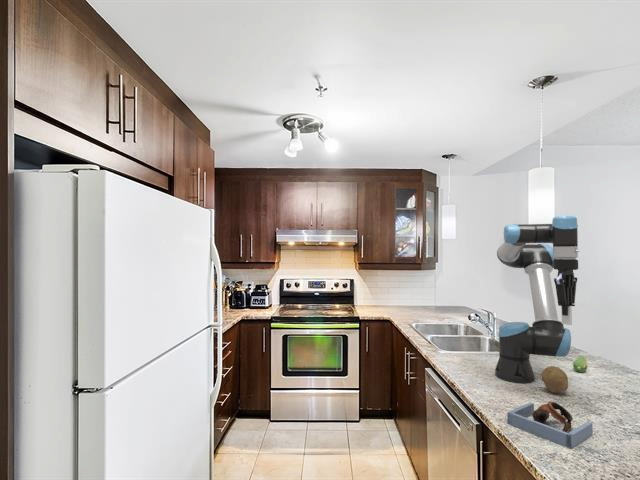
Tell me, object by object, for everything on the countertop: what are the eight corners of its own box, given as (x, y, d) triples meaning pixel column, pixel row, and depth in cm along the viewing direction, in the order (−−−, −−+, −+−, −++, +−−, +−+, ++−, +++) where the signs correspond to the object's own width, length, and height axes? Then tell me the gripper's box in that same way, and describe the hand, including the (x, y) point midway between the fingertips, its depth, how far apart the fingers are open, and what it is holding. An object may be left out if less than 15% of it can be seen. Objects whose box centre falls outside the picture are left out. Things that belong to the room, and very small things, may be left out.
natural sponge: (543, 386, 148) (543, 361, 149) (570, 391, 143) (569, 365, 143) (539, 393, 141) (539, 367, 142) (567, 399, 136) (567, 371, 136)
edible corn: (570, 362, 166) (582, 361, 164) (576, 354, 181) (587, 353, 178) (574, 374, 165) (586, 373, 162) (580, 365, 180) (591, 364, 177)
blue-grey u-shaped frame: (507, 423, 116) (507, 412, 116) (530, 412, 124) (530, 402, 124) (571, 448, 101) (570, 436, 101) (592, 434, 109) (592, 422, 109)
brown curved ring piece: (543, 417, 121) (557, 399, 119) (567, 443, 113) (583, 424, 111) (518, 414, 117) (533, 395, 114) (541, 441, 109) (557, 420, 106)
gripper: (568, 259, 126) (570, 328, 125) (585, 258, 133) (586, 324, 132) (545, 258, 132) (546, 324, 131) (562, 258, 139) (563, 320, 138)
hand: (566, 324), depth 132 cm, fingers closed
